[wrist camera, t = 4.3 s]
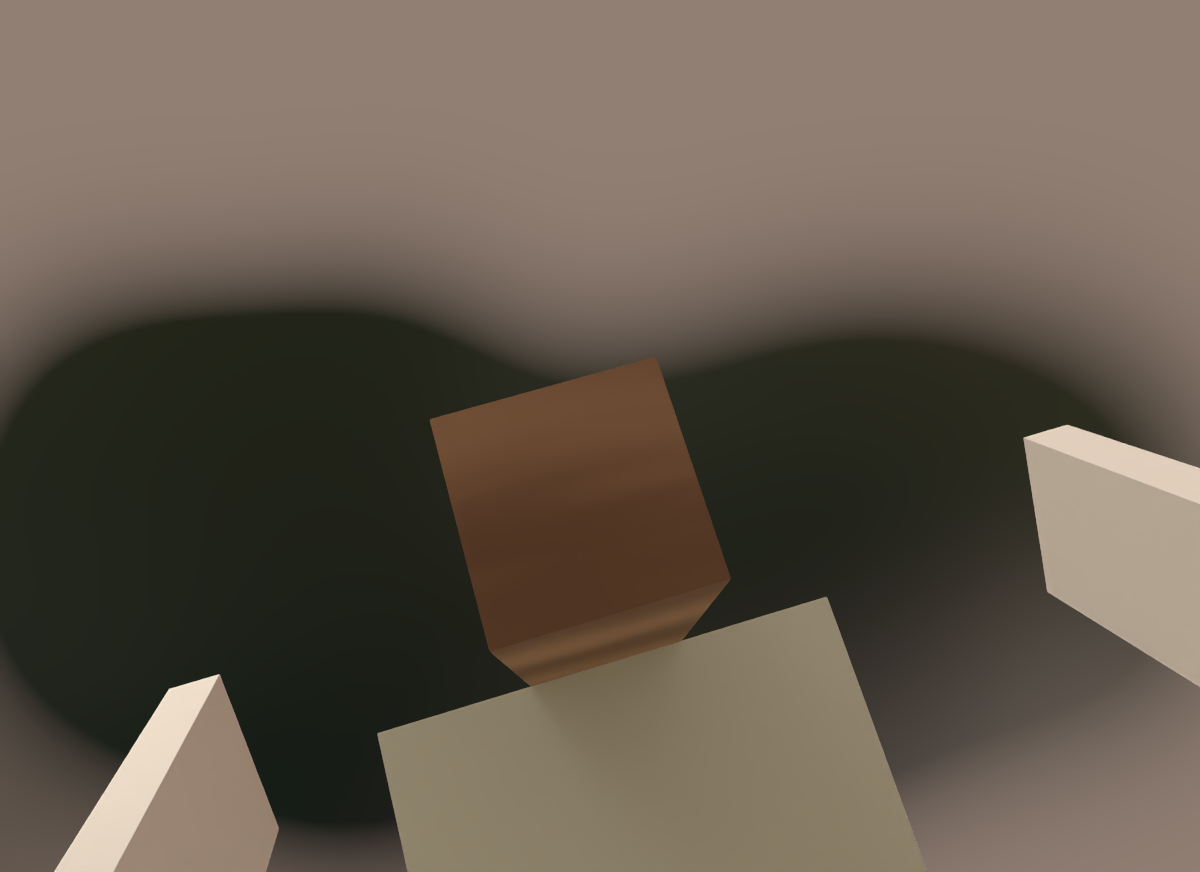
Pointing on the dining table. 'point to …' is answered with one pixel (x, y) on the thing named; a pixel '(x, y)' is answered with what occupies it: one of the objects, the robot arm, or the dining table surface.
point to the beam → (580, 521)
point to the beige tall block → (662, 765)
